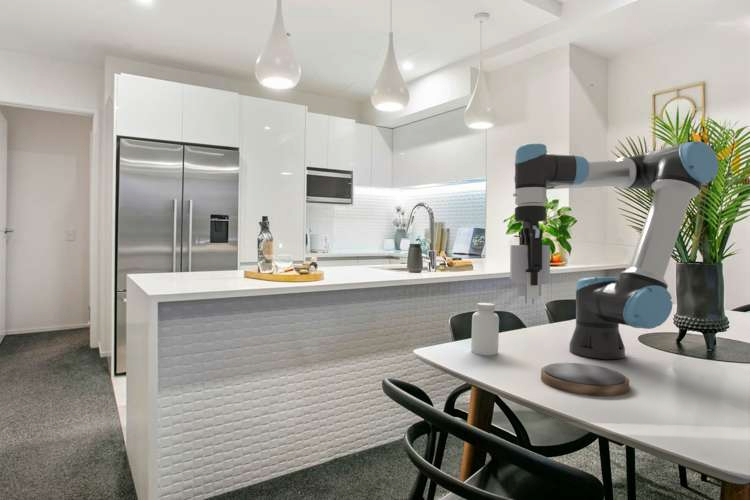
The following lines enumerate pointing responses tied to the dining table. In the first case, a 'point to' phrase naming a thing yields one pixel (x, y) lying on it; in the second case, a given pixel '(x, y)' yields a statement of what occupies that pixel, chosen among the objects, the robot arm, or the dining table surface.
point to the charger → (521, 264)
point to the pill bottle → (485, 330)
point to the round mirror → (585, 379)
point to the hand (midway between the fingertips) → (529, 296)
